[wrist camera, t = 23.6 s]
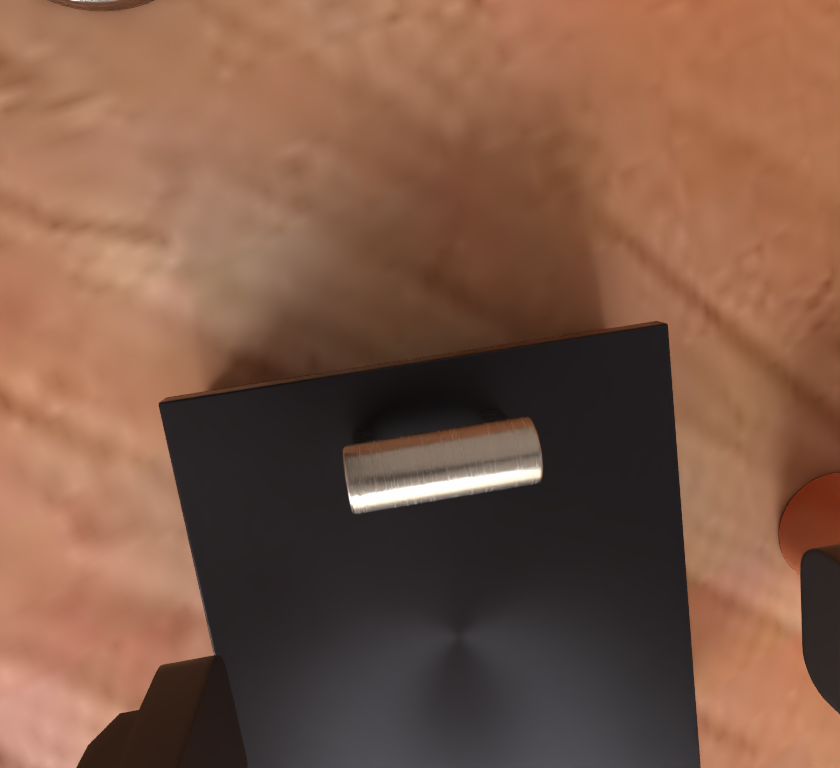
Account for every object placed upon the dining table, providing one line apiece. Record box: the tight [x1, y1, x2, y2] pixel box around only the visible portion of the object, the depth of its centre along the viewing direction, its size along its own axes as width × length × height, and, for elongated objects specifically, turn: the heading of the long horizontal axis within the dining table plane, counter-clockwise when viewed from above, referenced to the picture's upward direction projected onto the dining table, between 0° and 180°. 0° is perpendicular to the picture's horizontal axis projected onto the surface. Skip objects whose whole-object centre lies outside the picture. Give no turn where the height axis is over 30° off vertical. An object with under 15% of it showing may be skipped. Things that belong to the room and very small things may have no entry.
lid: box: [159, 321, 701, 768], centre depth 22 cm, size 19×16×5 cm
